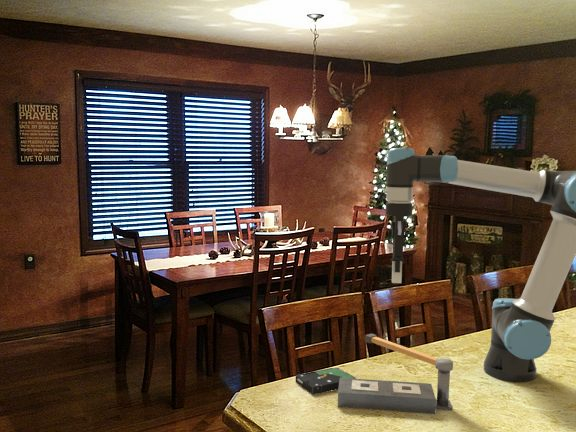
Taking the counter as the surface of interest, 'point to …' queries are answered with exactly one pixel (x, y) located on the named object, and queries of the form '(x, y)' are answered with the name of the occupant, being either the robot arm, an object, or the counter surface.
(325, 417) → the counter surface
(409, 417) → the counter surface
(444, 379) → the pivot post
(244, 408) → the counter surface
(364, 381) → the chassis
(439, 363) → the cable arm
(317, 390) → the disk drive
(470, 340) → the counter surface
